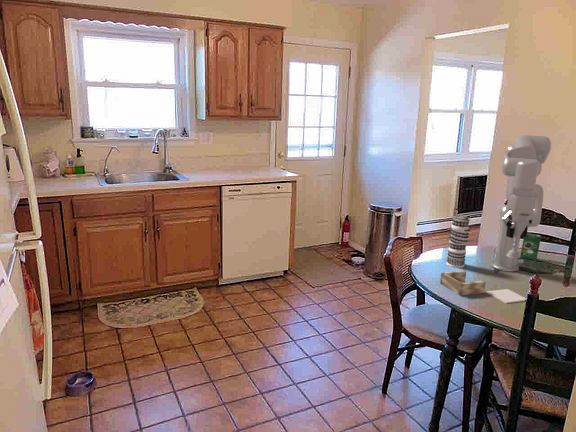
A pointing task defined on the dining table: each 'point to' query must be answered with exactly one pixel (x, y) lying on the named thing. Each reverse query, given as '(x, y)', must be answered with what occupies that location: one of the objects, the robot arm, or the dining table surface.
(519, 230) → the chalice
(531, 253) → the coffee box
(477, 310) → the dining table surface
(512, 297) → the mat
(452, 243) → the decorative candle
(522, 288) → the dining table surface
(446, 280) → the cubby
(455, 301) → the dining table surface
